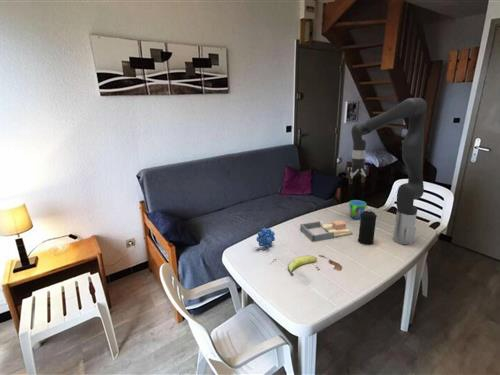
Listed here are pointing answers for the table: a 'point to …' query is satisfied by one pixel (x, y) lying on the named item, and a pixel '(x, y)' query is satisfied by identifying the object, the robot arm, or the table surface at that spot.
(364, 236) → the aerosol can
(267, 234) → the blue knobby ball
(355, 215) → the snack cup
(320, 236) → the box
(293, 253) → the table surface
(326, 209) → the table surface
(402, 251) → the table surface
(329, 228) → the beige wooden board
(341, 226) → the peach rectangular block
